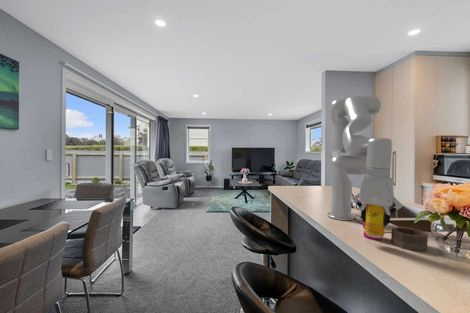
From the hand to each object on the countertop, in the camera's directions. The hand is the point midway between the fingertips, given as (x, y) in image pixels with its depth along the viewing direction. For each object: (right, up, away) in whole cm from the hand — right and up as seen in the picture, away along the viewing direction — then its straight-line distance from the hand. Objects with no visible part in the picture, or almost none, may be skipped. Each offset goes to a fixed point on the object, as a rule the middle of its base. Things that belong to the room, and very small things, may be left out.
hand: (374, 222), depth 86 cm
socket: (+13, -9, +1) cm, 16 cm away
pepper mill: (+4, -8, +9) cm, 13 cm away
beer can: (0, -5, 0) cm, 5 cm away
